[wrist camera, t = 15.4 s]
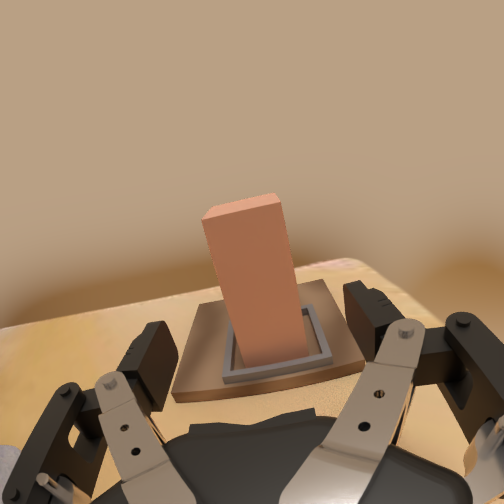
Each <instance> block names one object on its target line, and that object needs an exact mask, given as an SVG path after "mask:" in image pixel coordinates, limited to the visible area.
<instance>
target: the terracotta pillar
mask: <svg viewBox="0 0 504 504" xmlns="http://www.w3.org/2000/svg"><path fill="white" fill-rule="evenodd" d="M202 224H203V228H204V232H205V235H206V238H207V242H208V246H209V249H210V253H211V257H212V260H213V264H214V267H215V270H216V274H217V277H218V280H219V284H220V288H221V291H222V294H223V298H224V301H225V304H226V307H227V311H228V314H229V317H230V320H231V324H232V327H233V330H234V333H235V336H236V339H237V343H238V346H239V349H240V352H241V355H242V358H243V361H244V364H245V367H246V368H252V367H258V366H263V365H269V364H274V363H279V362H285V361H289V360H294V359H299V358H304V357H308V356H309V354H308V347H307V341H306V335H305V329H304V323H303V317H302V311H301V305H300V299H299V294H298V288H297V283H296V277H295V272H294V266H293V261H292V256H291V251H290V246H289V240H288V235H287V230H286V226H285V220H284V216H283V211H282V206H281V202H280V200H279V199H278V197H277V196H276V194H275V193H270V194H265V195H261V196H256V197H252V198H247V199H243V200H238V201H235V202H230V203H226V204H222V205H217V206H213V207H211V208H210V210H209V211H208V212H207V214H206V215H205V216H204V217H203V218H202Z"/></svg>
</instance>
